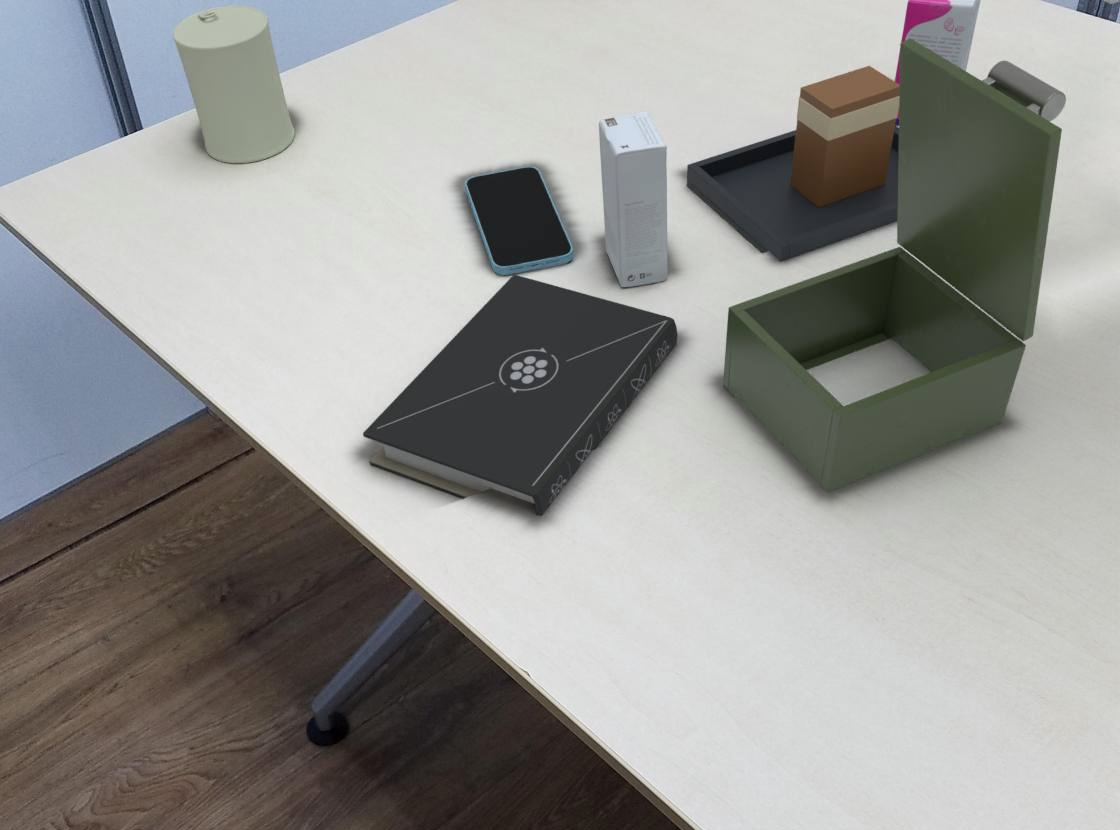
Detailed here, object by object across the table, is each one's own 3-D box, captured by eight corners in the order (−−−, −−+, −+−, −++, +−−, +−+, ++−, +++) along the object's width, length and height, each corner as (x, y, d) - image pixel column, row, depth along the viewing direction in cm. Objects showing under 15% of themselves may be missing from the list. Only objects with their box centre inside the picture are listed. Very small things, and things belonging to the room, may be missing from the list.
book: (542, 528, 80) (539, 497, 78) (368, 464, 86) (361, 433, 84) (677, 350, 92) (678, 319, 90) (516, 304, 98) (513, 273, 95)
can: (267, 109, 124) (238, -9, 115) (311, 140, 119) (284, 19, 109) (190, 140, 120) (153, 22, 111) (232, 174, 115) (197, 52, 106)
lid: (1050, 134, 65) (1125, 95, 65) (899, 42, 73) (967, 8, 73) (1023, 342, 77) (1086, 307, 77) (896, 243, 85) (954, 212, 86)
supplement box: (960, 103, 113) (987, -21, 105) (947, 132, 110) (974, 7, 101) (900, 95, 115) (921, -27, 107) (885, 124, 112) (906, 0, 103)
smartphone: (494, 269, 100) (462, 178, 109) (495, 280, 100) (463, 188, 110) (576, 253, 100) (537, 164, 110) (576, 264, 101) (538, 174, 110)
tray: (864, 127, 112) (867, 106, 110) (970, 202, 102) (976, 180, 101) (686, 185, 108) (687, 164, 106) (779, 269, 98) (782, 247, 96)
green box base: (825, 504, 80) (840, 417, 74) (721, 393, 88) (728, 307, 82) (998, 433, 83) (1026, 345, 77) (882, 333, 91) (900, 246, 86)
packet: (854, 162, 107) (869, 64, 100) (885, 184, 104) (903, 86, 97) (789, 184, 105) (799, 87, 98) (818, 208, 102) (831, 109, 96)
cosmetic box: (669, 281, 98) (673, 145, 89) (617, 290, 98) (615, 155, 89) (650, 242, 102) (652, 108, 93) (600, 250, 102) (597, 117, 93)
